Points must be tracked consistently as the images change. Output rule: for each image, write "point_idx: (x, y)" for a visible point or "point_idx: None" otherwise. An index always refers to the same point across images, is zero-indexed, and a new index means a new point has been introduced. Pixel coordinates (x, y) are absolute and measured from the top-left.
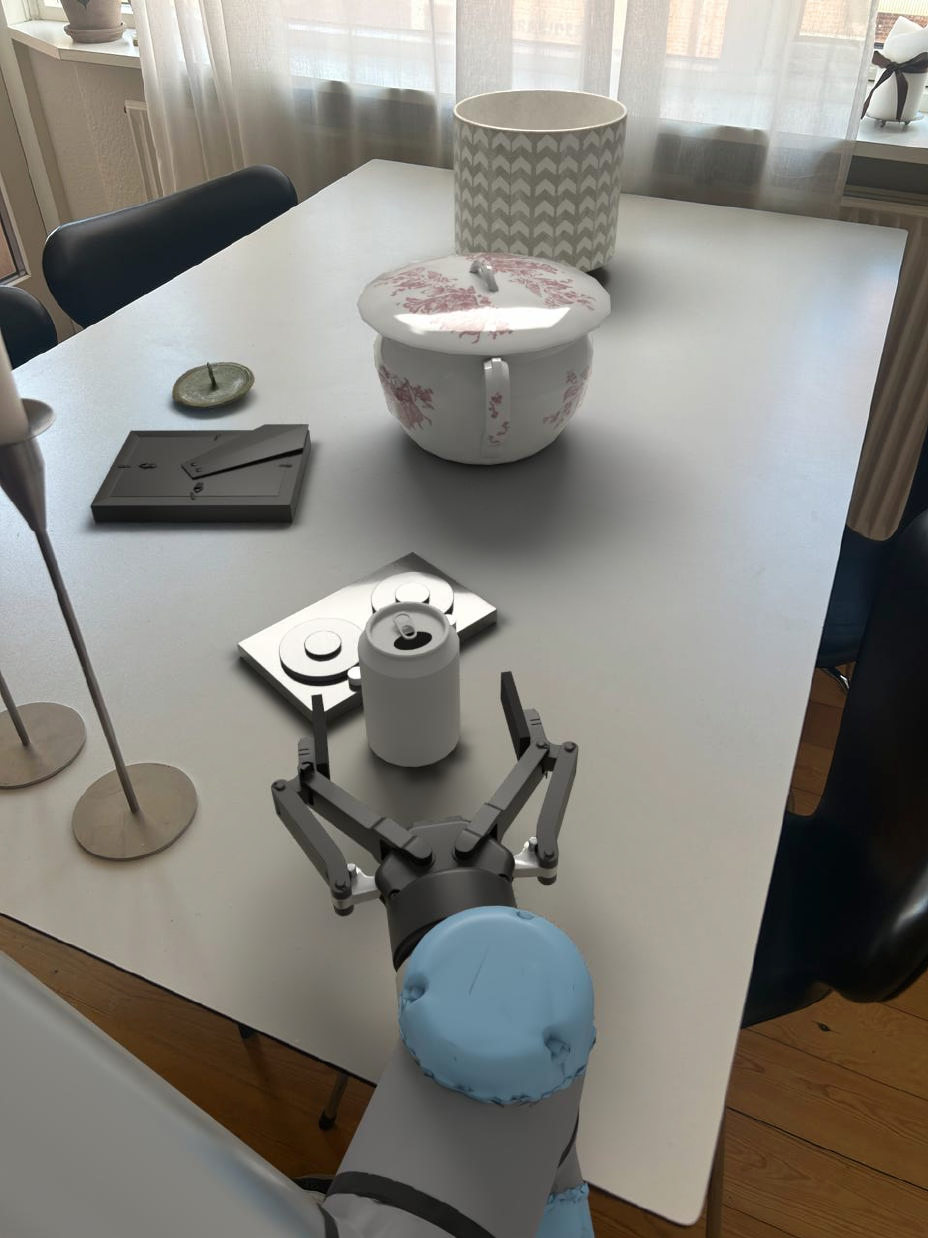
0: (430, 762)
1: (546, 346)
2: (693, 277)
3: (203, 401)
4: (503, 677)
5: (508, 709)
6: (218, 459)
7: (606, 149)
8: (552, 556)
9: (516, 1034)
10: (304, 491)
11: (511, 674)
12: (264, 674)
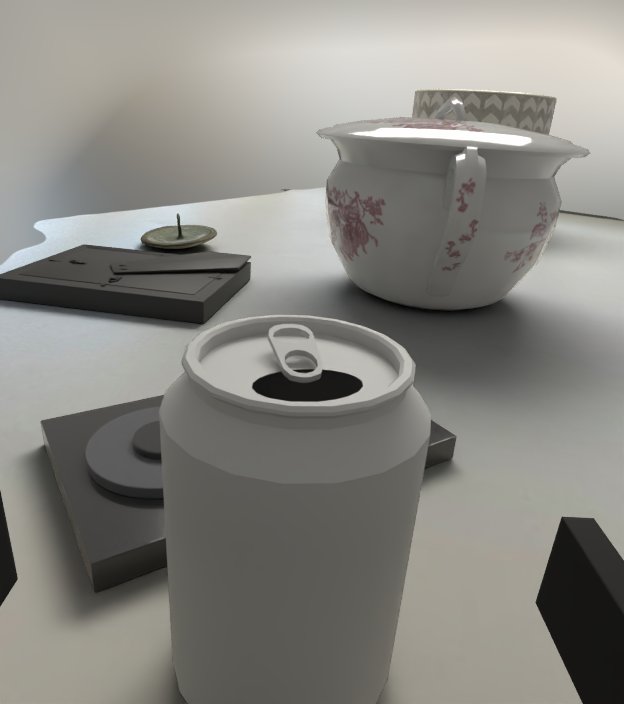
0: None
1: (529, 149)
2: (596, 240)
3: (164, 242)
4: (575, 533)
5: (612, 656)
6: (149, 265)
7: (540, 117)
8: (522, 394)
9: None
10: (228, 305)
11: (599, 528)
12: (55, 473)
